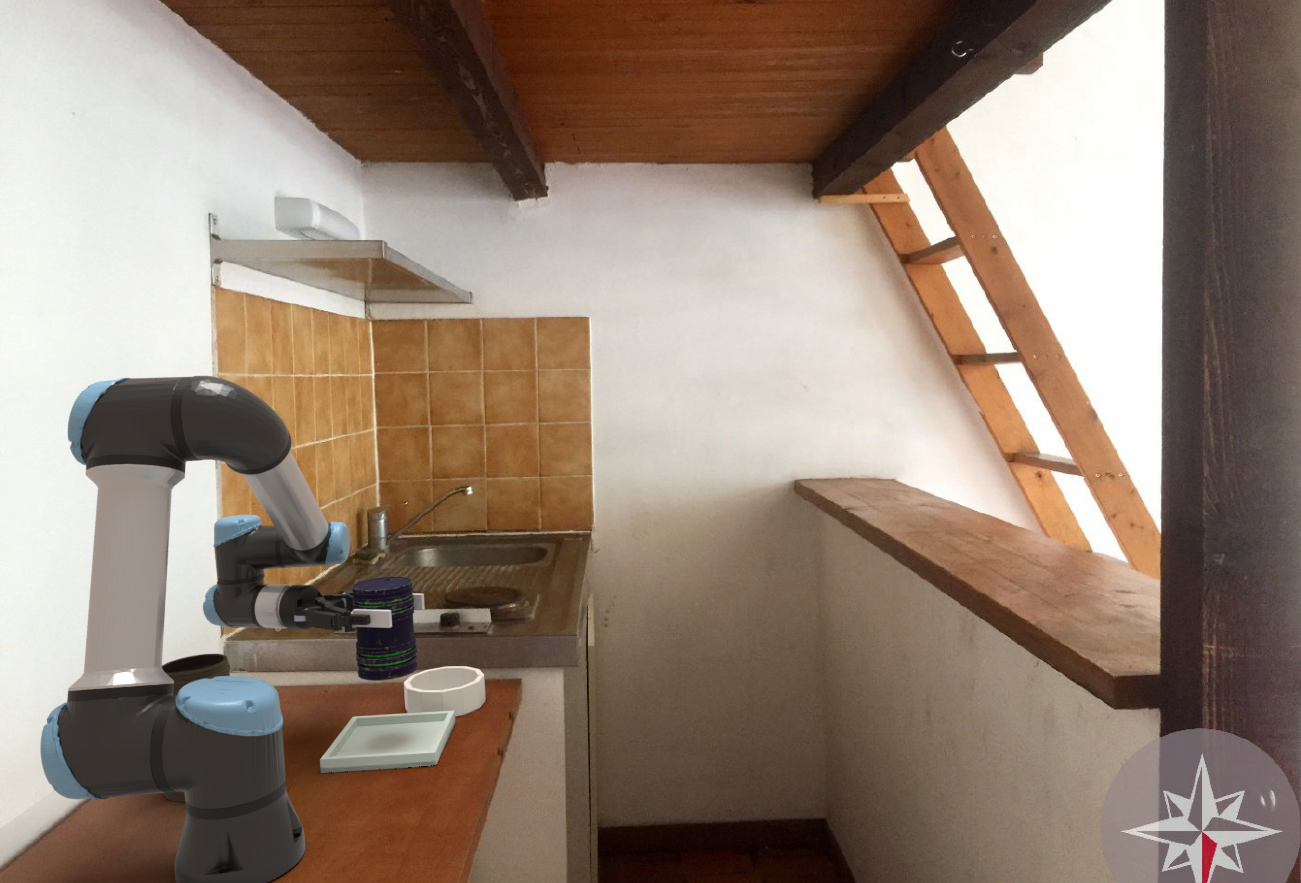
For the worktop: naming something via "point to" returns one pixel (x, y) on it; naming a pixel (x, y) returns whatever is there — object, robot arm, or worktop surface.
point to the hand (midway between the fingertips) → (407, 610)
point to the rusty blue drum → (386, 629)
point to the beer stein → (189, 672)
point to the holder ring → (445, 690)
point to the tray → (389, 742)
